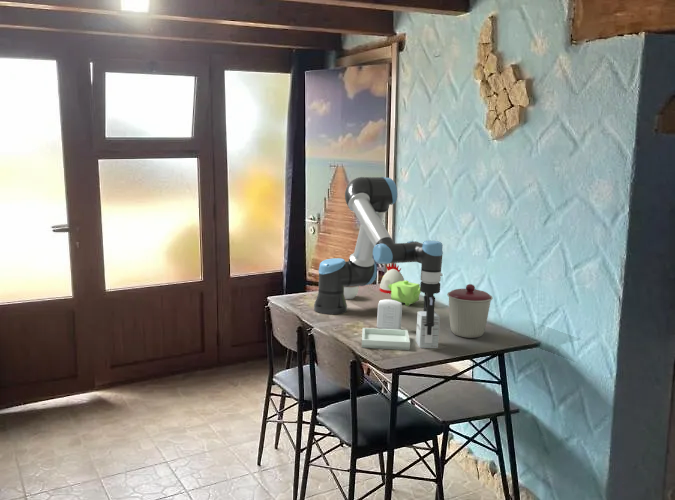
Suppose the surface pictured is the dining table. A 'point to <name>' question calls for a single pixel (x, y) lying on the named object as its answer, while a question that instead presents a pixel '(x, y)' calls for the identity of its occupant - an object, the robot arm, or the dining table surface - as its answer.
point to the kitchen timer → (390, 278)
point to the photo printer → (389, 314)
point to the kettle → (405, 292)
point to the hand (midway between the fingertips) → (427, 338)
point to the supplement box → (421, 330)
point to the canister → (468, 311)
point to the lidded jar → (350, 292)
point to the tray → (385, 338)
